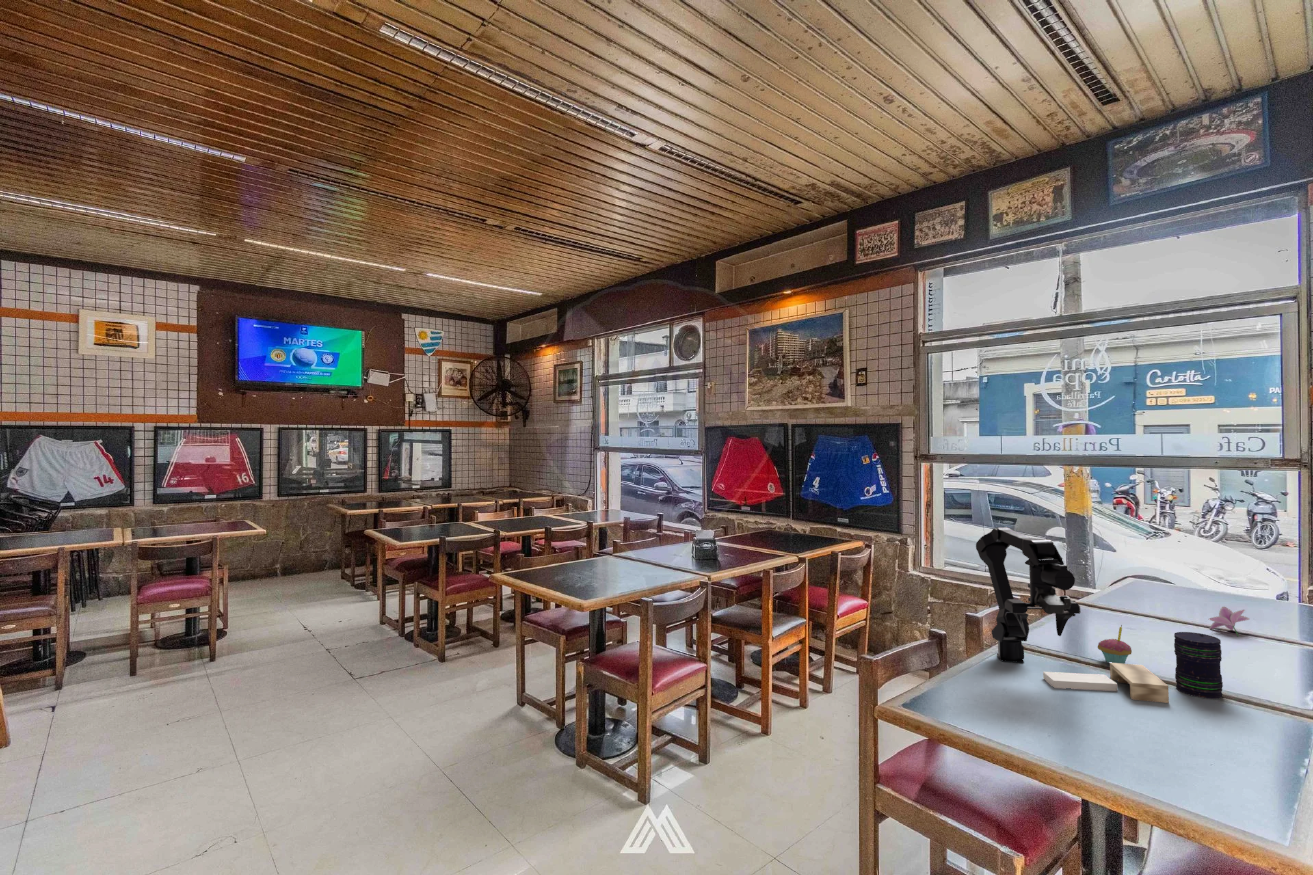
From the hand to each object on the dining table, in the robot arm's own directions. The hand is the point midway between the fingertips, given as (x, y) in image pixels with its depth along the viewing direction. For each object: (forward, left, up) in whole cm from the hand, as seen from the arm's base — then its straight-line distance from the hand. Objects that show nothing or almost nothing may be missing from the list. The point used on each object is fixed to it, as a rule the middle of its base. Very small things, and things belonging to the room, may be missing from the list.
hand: (1042, 635), depth 181 cm
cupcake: (+24, +20, -13) cm, 34 cm away
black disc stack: (+37, 0, -13) cm, 39 cm away
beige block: (+22, -3, -12) cm, 26 cm away
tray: (+8, -3, -13) cm, 16 cm away
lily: (+73, +65, -13) cm, 99 cm away
